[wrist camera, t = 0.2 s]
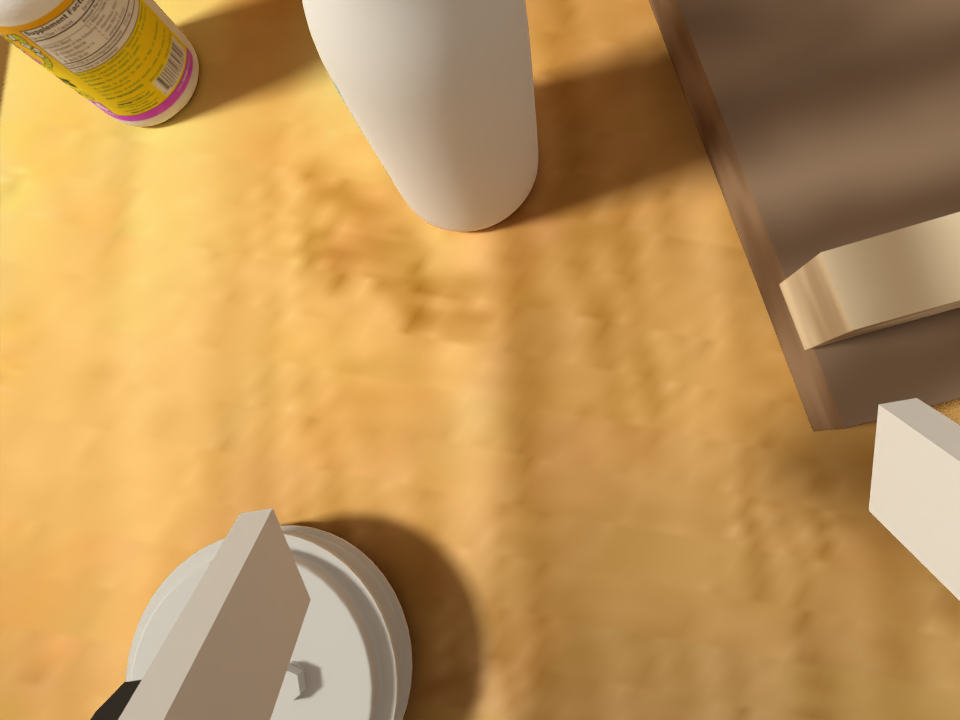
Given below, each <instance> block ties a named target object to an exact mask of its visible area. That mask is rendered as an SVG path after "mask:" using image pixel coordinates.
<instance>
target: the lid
mask: <svg viewBox="0 0 960 720" xmlns="http://www.w3.org/2000/svg"><path fill="white" fill-rule="evenodd" d="M280 527H281V529H282V532H283V534H284V536H285V539H286V541H287V544H288V546H289V548H290V551H291V553H292V556H293V558H294V560H295V563H296V565H297V568H298V570H299V572H300V575H301V577H302V580H303V582H304V584H305V587H306V589H307V592H308V594H309V596H310V599H311V600H310V603H309V606H308V609H307V612H306V615H305V618H304V621H303V624H302V627H301V630H300V633H299V636H298V639H297V642H296V645H295V648H294V651H293V654H292V657H291V660H290V663H289V666H288V669H287V671H286V674H285V677H284V680H283V683H282V686H281V689H280V692H279V695H278V698H277V701H276V704H275V707H274V710H273V713H272V716H271V719H270V720H403V717H404V714H405V711H406V708H407V704H408V699H409V694H410V690H411V681H412V668H413V666H412V647H411V641H410V635H409V630H408V625H407V622H406V619H405V616H404V613H403V609H402V607H401V605H400V603H399V600H398V598H397V596H396V594H395V592H394V590H393V588H392V587H391V585H390V584H389V582H388V580H387V579H386V577H385V576H384V574H383V573H382V572H381V571H380V570H379V568H378V567H377V566H376V565H375V564H374V563H373V561H372V560H371V559H369V558H368V557H367V556H366V555H365V554H364V553H363V552H362V551H360V550H359V549H358V548H356V547H355V546H353V545H352V544H350V543H349V542H347V541H346V540H344V539H342V538H340V537H338V536H336V535H334V534H332V533H329V532H327V531H323V530H320V529H316V528H313V527H306V526H298V525H282V526H280ZM224 540H225V539H222V540H220V541H217V542H215V543H213V544H210V545H208V546H206V547H205V548H203V549H201V550H200V551H198V552H196V553H195V554H193V555H192V556H190V557H189V558H188V559H187V560H185V561H184V562H183V563H182V564H180V565H179V566H178V567H177V568H176V569H175V570H174V571H173V572H172V573H171V574H170V575H169V576H168V577H167V578H166V579H165V580H164V582H163V583H162V584H161V586H160V587H159V589H158V590H157V591H156V593H155V594H154V595H153V597H152V598H151V600H150V602H149V604H148V606H147V607H146V609H145V611H144V613H143V615H142V617H141V620H140V622H139V625H138V627H137V630H136V632H135V635H134V638H133V642H132V646H131V649H130V653H129V659H128V666H127V673H126V682H129V681H136V680H142V678H143V677H144V675H145V673H146V672H147V670H148V668H149V667H150V665H151V663H152V662H153V660H154V658H155V656H156V655H157V653H158V651H159V650H160V648H161V646H162V645H163V643H164V641H165V640H166V638H167V636H168V634H169V633H170V631H171V629H172V628H173V626H174V624H175V623H176V621H177V619H178V618H179V616H180V614H181V612H182V611H183V609H184V607H185V606H186V604H187V602H188V601H189V599H190V597H191V596H192V594H193V592H194V590H195V589H196V587H197V585H198V584H199V582H200V580H201V579H202V577H203V575H204V574H205V572H206V570H207V568H208V567H209V565H210V563H211V562H212V560H213V558H214V557H215V555H216V553H217V552H218V550H219V548H220V546H221V545H222V543H223V541H224Z"/></svg>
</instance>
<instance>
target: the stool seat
mask: <svg viewBox="0 0 960 720" xmlns="http://www.w3.org/2000/svg"><path fill="white" fill-rule="evenodd" d="M649 2H650V5H651V7H652V10H653V12H654V15H655V18H656V20H657V23H658V25H659V28H660V31H661V33H662V36H663V39H664V41H665V44H666V46H667V49H668V52H669V54H670V57H671V59H672V62H673V65H674V67H675V70H676V73H677V75H678V78H679V80H680V83H681V86H682V88H683V91H684V94H685V96H686V99H687V101H688V104H689V107H690V109H691V112H692V114H693V117H694V120H695V122H696V125H697V128H698V130H699V133H700V135H701V138H702V141H703V143H704V146H705V149H706V151H707V154H708V156H709V159H710V162H711V164H712V167H713V169H714V172H715V175H716V177H717V180H718V183H719V185H720V188H721V190H722V193H723V196H724V198H725V201H726V203H727V206H728V209H729V211H730V214H731V217H732V219H733V222H734V224H735V227H736V230H737V232H738V235H739V238H740V240H741V243H742V245H743V248H744V251H745V253H746V256H747V258H748V261H749V264H750V266H751V269H752V272H753V274H754V277H755V279H756V282H757V285H758V287H759V290H760V293H761V295H762V298H763V300H764V303H765V306H766V308H767V311H768V313H769V316H770V319H771V321H772V324H773V327H774V329H775V332H776V334H777V337H778V340H779V342H780V345H781V347H782V350H783V353H784V355H785V358H786V361H787V363H788V366H789V368H790V371H791V374H792V376H793V379H794V382H795V384H796V387H797V389H798V392H799V395H800V397H801V400H802V402H803V405H804V408H805V410H806V413H807V416H808V418H809V421H810V423H811V426H812V429H813V431H821V430H833V429H844V428H849V427H852V426H856V425H860V424H864V423H868V422H871V421H875V420H877V416H878V405H879V404H884V403H890V402H896V401H902V400H908V399H914V398H918V399H919V400H921V401H922V402H924V403H925V404H927V405H929V406H932V405H936V404H940V403H944V402H947V401H951V400H955V399H959V398H960V307H959V308H956V309H952V310H948V311H945V312H941V313H938V314H934V315H930V316H927V317H923V318H920V319H916V320H912V321H909V322H905V323H902V324H898V325H894V326H891V327H887V328H884V329H880V330H876V331H873V332H869V333H866V334H862V335H858V336H855V337H851V338H848V339H844V340H840V341H837V342H833V343H830V344H826V345H822V346H819V347H815V348H812V349H808V350H804V347H803V345H802V342H801V339H800V337H799V334H798V332H797V329H796V327H795V324H794V321H793V319H792V316H791V314H790V311H789V309H788V306H787V304H786V301H785V298H784V296H783V293H782V291H781V288H780V286H779V284H780V283H782V282H783V281H784V280H786V279H787V278H788V277H790V276H791V275H792V274H793V273H795V272H796V271H797V270H799V269H800V268H801V267H802V266H804V265H805V264H806V263H808V262H809V261H810V260H812V259H813V258H814V257H815V256H817V255H818V254H819V253H821V252H824V251H827V250H830V249H834V248H837V247H841V246H844V245H848V244H851V243H854V242H858V241H861V240H865V239H868V238H871V237H875V236H878V235H882V234H885V233H889V232H892V231H895V230H899V229H902V228H906V227H909V226H913V225H916V224H919V223H923V222H926V221H930V220H933V219H936V218H940V217H943V216H947V215H950V214H954V213H957V212H960V0H649Z"/></svg>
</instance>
